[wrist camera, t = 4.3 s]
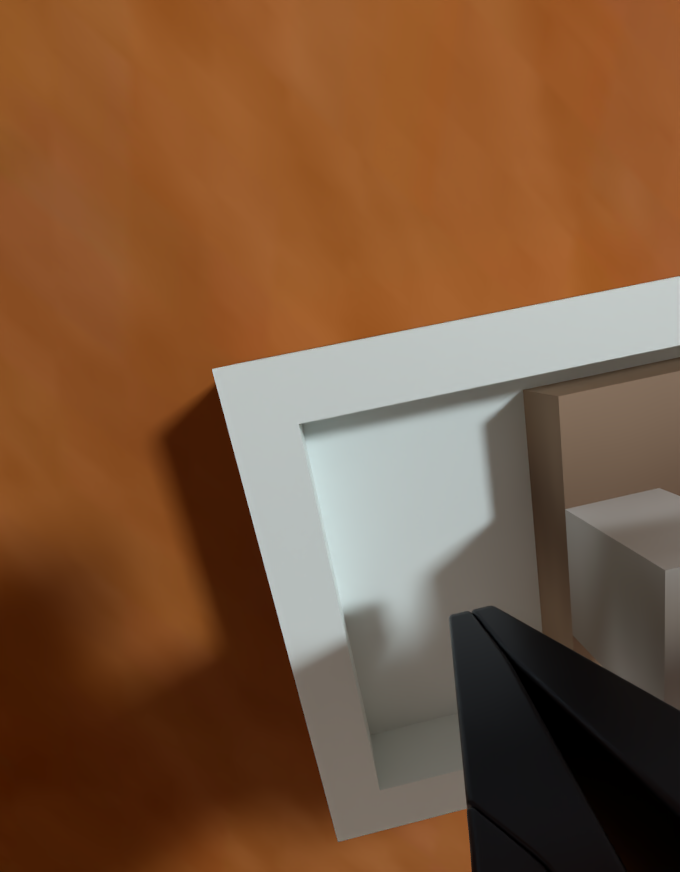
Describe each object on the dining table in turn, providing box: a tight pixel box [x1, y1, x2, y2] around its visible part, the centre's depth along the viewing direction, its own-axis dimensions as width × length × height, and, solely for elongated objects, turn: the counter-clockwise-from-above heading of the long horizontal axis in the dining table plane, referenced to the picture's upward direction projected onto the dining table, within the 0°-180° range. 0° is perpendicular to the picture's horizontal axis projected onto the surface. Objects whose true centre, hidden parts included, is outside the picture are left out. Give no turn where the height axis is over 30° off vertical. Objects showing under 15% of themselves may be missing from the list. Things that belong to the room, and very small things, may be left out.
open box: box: [212, 276, 680, 842], centre depth 9 cm, size 11×17×3 cm, turn 101°
